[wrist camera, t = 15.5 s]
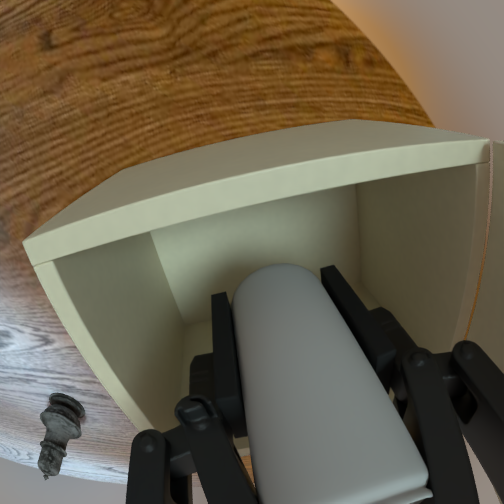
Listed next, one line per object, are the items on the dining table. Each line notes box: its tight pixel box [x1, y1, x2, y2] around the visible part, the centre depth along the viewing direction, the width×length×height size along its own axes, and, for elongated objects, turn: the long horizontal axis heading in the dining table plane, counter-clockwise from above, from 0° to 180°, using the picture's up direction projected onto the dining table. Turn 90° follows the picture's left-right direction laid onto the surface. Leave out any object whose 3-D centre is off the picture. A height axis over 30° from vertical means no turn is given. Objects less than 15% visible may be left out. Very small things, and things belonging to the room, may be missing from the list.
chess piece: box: [38, 393, 85, 480], centre depth 25 cm, size 6×6×12 cm
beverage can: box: [231, 263, 433, 504], centre depth 10 cm, size 5×5×12 cm
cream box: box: [23, 119, 490, 457], centre depth 18 cm, size 18×15×14 cm
